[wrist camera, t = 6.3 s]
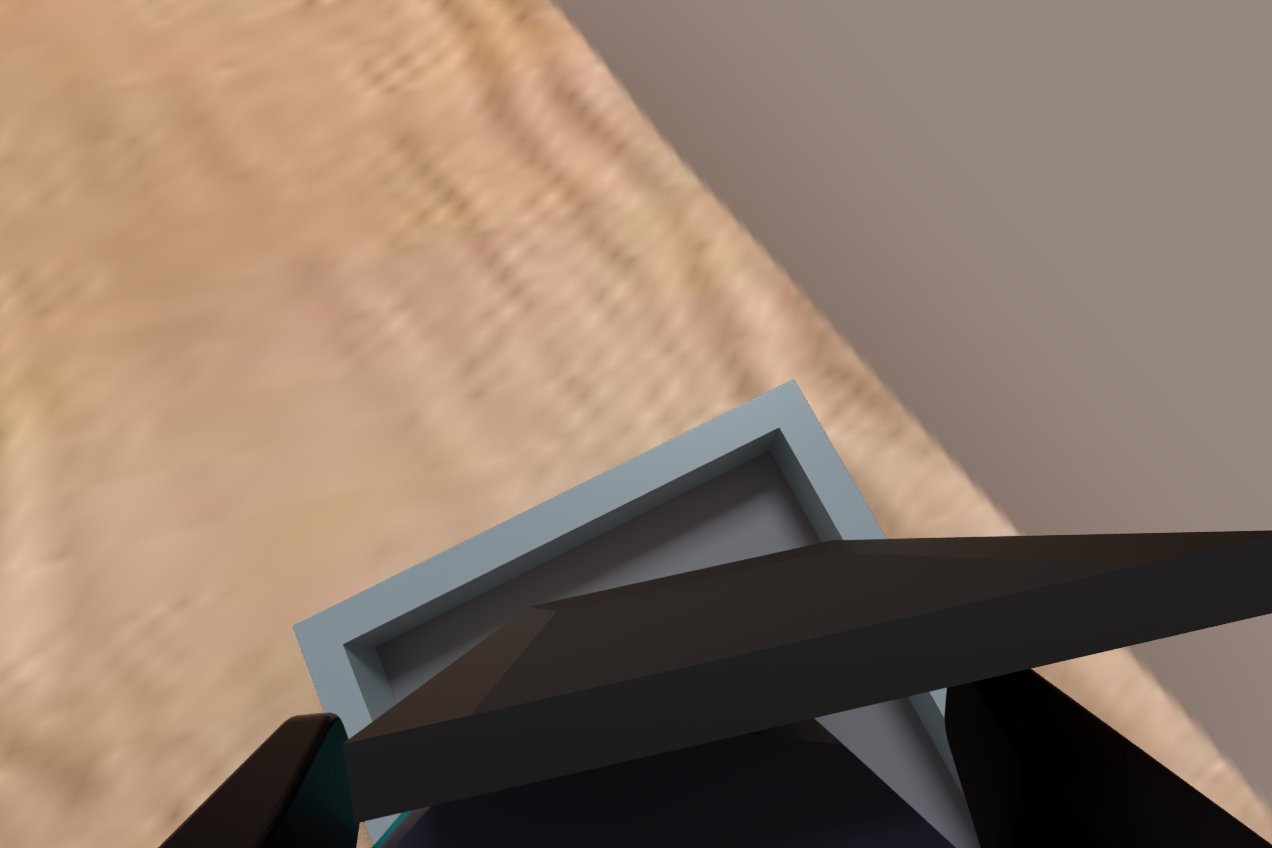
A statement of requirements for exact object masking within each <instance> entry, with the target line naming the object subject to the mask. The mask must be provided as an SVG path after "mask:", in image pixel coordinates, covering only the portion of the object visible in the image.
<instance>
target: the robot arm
mask: <svg viewBox="0 0 1272 848" xmlns="http://www.w3.org/2000/svg"><path fill="white" fill-rule="evenodd" d="M944 722H945V731H946V736H947V741H948V744H949V748H950V751H951V754H952V757H953V761H954V764H955V767H956V770H957V774H958V777H959V780H960V783H961V786H962V790H963V793H964V796H965V799H966V803H967V806H968V809H969V812H970V815H971V819H972V822H973V825H974V828H975V832H976V835H977V838H978V841H979V845H980V848H1272V844H1270V843H1269V842H1267V841H1266V840H1265V839H1263V838H1262V837H1261V836H1259V835H1258V834H1256V833H1255V832H1254V831H1252V830H1251V829H1250V828H1248V827H1247V826H1246V825H1244V824H1243V823H1241V822H1240V821H1239V820H1237V819H1236V818H1235V817H1233V816H1232V815H1231V814H1229V813H1228V812H1226V811H1225V810H1224V809H1222V808H1221V807H1220V806H1218V805H1217V804H1215V803H1214V802H1213V801H1211V800H1210V799H1209V798H1207V797H1206V796H1205V795H1203V794H1202V793H1200V792H1199V791H1198V790H1196V789H1195V788H1194V787H1192V786H1191V785H1189V784H1188V783H1187V782H1185V781H1184V780H1183V779H1181V778H1180V777H1179V776H1177V775H1176V774H1174V773H1173V772H1172V771H1170V770H1169V769H1168V768H1166V767H1165V766H1164V765H1162V764H1161V763H1159V762H1158V761H1157V760H1155V759H1154V758H1153V757H1151V756H1150V755H1148V754H1147V753H1146V752H1144V751H1143V750H1142V749H1140V748H1139V747H1138V746H1136V745H1135V744H1133V743H1132V742H1131V741H1129V740H1128V739H1127V738H1125V737H1124V736H1123V735H1121V734H1120V733H1118V732H1117V731H1116V730H1114V729H1113V728H1112V727H1110V726H1109V725H1107V724H1106V723H1105V722H1103V721H1102V720H1101V719H1099V718H1098V717H1097V716H1095V715H1094V714H1092V713H1091V712H1090V711H1088V710H1087V709H1086V708H1084V707H1083V706H1081V705H1080V704H1079V703H1077V702H1076V701H1075V700H1073V699H1072V698H1071V697H1069V696H1068V695H1066V694H1065V693H1064V692H1062V691H1061V690H1060V689H1058V688H1057V687H1056V686H1054V685H1053V684H1051V683H1050V682H1049V681H1047V680H1046V679H1045V678H1043V677H1042V676H1040V675H1039V674H1038V673H1036V672H1035V671H1034V670H1032V669H1026V670H1022V671H1018V672H1013V673H1009V674H1005V675H1000V676H996V677H991V678H987V679H983V680H978V681H974V682H970V683H965V684H961V685H957V686H952V687H948V688H947V690H946V701H945V713H944ZM348 739H349V738H348V735H347V732H346V730H345V727H344V724H343V722H342V720H341V719H340V717H339V716H338V715H336V714H335V713H330V712H326V713H317V714H307V715H297V716H294V717H291V718H289V719H288V720H286V721H285V722H284V723H283V724H282V725H281V726H280V727H279V728H278V729H277V730H276V731H275V732H274V733H273V734H272V735H271V736H270V737H269V738H268V739H267V740H266V741H265V742H264V743H263V744H262V745H261V746H260V747H259V748H258V749H257V750H256V751H255V752H254V753H253V754H252V755H251V756H250V757H249V758H248V759H247V760H246V761H245V762H244V763H243V764H242V765H241V766H240V767H239V768H238V769H237V770H235V771H234V772H233V773H232V774H231V775H230V776H229V777H228V778H227V779H226V780H225V781H224V782H223V783H222V784H221V785H220V786H219V787H218V788H217V789H216V790H215V791H214V792H213V793H212V794H211V795H210V796H209V797H208V798H207V799H206V800H205V801H204V802H203V803H202V804H201V805H200V806H199V807H198V808H197V809H196V810H195V811H194V812H193V813H192V814H191V815H190V816H189V817H188V818H187V819H186V820H185V821H184V822H183V823H182V824H181V825H180V826H179V827H178V828H177V829H176V830H175V831H174V832H173V833H172V834H171V835H170V836H169V837H168V838H167V839H166V840H165V841H164V842H163V843H162V844H161V845H160V846H159V847H158V848H356V845H357V838H358V831H359V824H360V823H355V819H354V813H353V807H352V801H351V795H350V788H349V782H348V776H347V770H346V764H345V758H344V752H343V746H342V744H343V743H344V742H346V741H347V740H348Z"/></svg>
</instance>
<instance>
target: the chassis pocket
mask: <svg viewBox="0 0 1272 848" xmlns="http://www.w3.org/2000/svg"><path fill="white" fill-rule="evenodd" d="M864 539H887V538H886V536H885V534H884V532H883V531H882V529H881V527H880V525H879V524H878V522H877V520H876V519H875V517H874V515H873V513H872V512H871V510H870V508H869V507H868V505H867V503H866V501H865V500H864V498H863V496H862V495H861V493H860V491H859V489H858V488H857V486H856V484H855V483H854V481H853V479H852V477H851V476H850V474H849V472H848V471H847V469H846V467H845V465H844V464H843V462H842V460H841V459H840V457H839V455H838V453H837V452H836V450H835V448H834V446H833V445H832V443H831V441H830V440H829V438H828V436H827V434H826V433H825V431H824V429H823V428H822V426H821V424H820V422H819V421H818V419H817V417H816V416H815V414H814V412H813V410H812V409H811V407H810V405H809V404H808V402H807V400H806V398H805V397H804V395H803V393H802V392H801V390H800V388H799V386H798V385H797V383H796V381H795V380H794V379H793V380H791V381H789V382H787V383H785V384H783V385H781V386H779V387H777V388H775V389H773V390H771V391H768V392H766V393H764V394H762V395H760V396H758V397H756V398H754V399H752V400H750V401H748V402H746V403H744V404H742V405H740V406H738V407H736V408H734V409H732V410H730V411H728V412H726V413H724V414H722V415H720V416H718V417H716V418H714V419H712V420H710V421H708V422H706V423H704V424H702V425H699V426H697V427H695V428H693V429H691V430H689V431H687V432H685V433H683V434H681V435H679V436H677V437H675V438H673V439H671V440H669V441H667V442H665V443H663V444H661V445H659V446H657V447H655V448H653V449H651V450H649V451H647V452H645V453H643V454H641V455H639V456H637V457H635V458H632V459H630V460H628V461H626V462H624V463H622V464H620V465H618V466H616V467H614V468H612V469H610V470H608V471H606V472H604V473H602V474H600V475H598V476H596V477H594V478H592V479H590V480H588V481H586V482H584V483H582V484H580V485H578V486H576V487H574V488H572V489H570V490H568V491H565V492H563V493H561V494H559V495H557V496H555V497H553V498H551V499H549V500H547V501H545V502H543V503H541V504H539V505H537V506H535V507H533V508H531V509H529V510H527V511H525V512H523V513H521V514H519V515H517V516H515V517H513V518H511V519H509V520H507V521H505V522H503V523H501V524H498V525H496V526H494V527H492V528H490V529H488V530H486V531H484V532H482V533H480V534H478V535H476V536H474V537H472V538H470V539H468V540H466V541H464V542H462V543H460V544H458V545H456V546H454V547H452V548H450V549H448V550H446V551H444V552H442V553H440V554H438V555H436V556H434V557H431V558H429V559H427V560H425V561H423V562H421V563H419V564H417V565H415V566H413V567H411V568H409V569H407V570H405V571H403V572H401V573H399V574H397V575H395V576H393V577H391V578H389V579H387V580H385V581H383V582H381V583H379V584H377V585H375V586H373V587H371V588H369V589H367V590H365V591H362V592H360V593H358V594H356V595H354V596H352V597H350V598H348V599H346V600H344V601H342V602H340V603H338V604H336V605H334V606H332V607H330V608H328V609H326V610H324V611H322V612H320V613H318V614H316V615H314V616H312V617H310V618H308V619H306V620H304V621H302V622H300V623H298V624H295V625H293V629H294V632H295V634H296V637H297V640H298V642H299V645H300V648H301V651H302V653H303V656H304V659H305V661H306V664H307V667H308V669H309V672H310V675H311V678H312V680H313V683H314V686H315V688H316V691H317V694H318V696H319V699H320V702H321V705H322V707H323V710H324V713H326V712H330V713H335V714H336V715H338V716H339V717H340V719H341V720H342V722H343V724H344V727H345V730H346V732H347V735H348V738H349V739H350V738H351V737H352V736H354V735H355V734H357V733H358V732H359V731H361V730H362V729H363V728H365V727H366V726H367V725H369V724H370V723H371V722H373V721H374V720H376V719H377V718H378V717H380V716H381V715H382V714H384V713H385V712H386V711H388V710H389V709H390V708H392V707H393V706H395V705H396V704H397V703H399V702H400V701H401V700H403V699H404V698H405V697H407V696H408V695H409V694H411V693H412V692H414V691H415V690H416V689H418V688H419V687H420V686H422V685H423V684H424V683H426V682H427V681H428V680H430V679H431V678H432V677H434V676H435V675H437V674H438V673H439V672H441V671H442V670H443V669H445V668H446V667H447V666H449V665H450V664H451V663H453V662H454V661H456V660H457V659H458V658H460V657H461V656H462V655H464V654H465V653H466V652H468V651H469V650H470V649H472V648H473V647H475V646H476V645H477V644H479V643H480V642H481V641H483V640H484V639H485V638H487V637H488V636H489V635H491V634H492V633H494V632H495V631H496V630H498V629H499V628H500V627H502V626H503V625H504V624H506V623H507V622H508V621H510V620H511V619H513V618H514V617H515V616H517V615H518V614H519V613H521V612H522V611H523V610H525V609H526V608H527V607H529V606H534V605H538V604H543V603H547V602H552V601H557V600H561V599H566V598H570V597H575V596H580V595H584V594H589V593H593V592H598V591H602V590H607V589H612V588H616V587H621V586H625V585H630V584H634V583H639V582H644V581H648V580H653V579H657V578H662V577H667V576H671V575H676V574H680V573H685V572H689V571H694V570H699V569H703V568H708V567H712V566H717V565H721V564H726V563H731V562H735V561H740V560H744V559H749V558H753V557H758V556H763V555H767V554H772V553H776V552H781V551H786V550H790V549H795V548H799V547H804V546H808V545H813V544H818V543H822V542H827V541H831V540H864ZM946 690H947V688H944V689H939V690H935V691H930V692H926V693H922V694H917V695H913V696H909V697H904V698H900V699H896V700H891V701H887V702H883V703H878V704H874V705H869V706H865V707H861V708H856V709H852V710H848V711H843V712H839V713H835V714H830V715H826V716H822V717H817V718H815V719H816V720H817V721H818V722H819V723H820V724H821V725H822V726H824V727H825V728H826V729H827V730H828V731H829V732H830V733H831V734H832V735H834V736H835V737H836V738H837V739H838V740H839V741H840V742H841V743H842V744H844V745H845V746H846V747H847V748H848V749H849V750H850V751H851V752H852V753H853V754H855V755H856V756H857V757H858V758H859V759H860V760H861V761H862V762H863V763H864V764H865V765H867V766H868V767H869V768H870V769H871V770H872V771H873V772H874V773H875V774H876V775H877V776H878V777H880V778H881V779H882V780H883V781H884V782H885V783H886V784H887V785H888V786H889V787H890V788H892V789H893V790H894V791H895V792H896V793H897V794H898V795H899V796H900V797H901V798H902V799H904V800H905V801H906V802H907V803H908V804H909V805H910V806H911V807H912V808H913V809H914V810H916V811H917V812H918V813H919V814H920V815H921V816H922V817H923V818H924V819H925V820H926V821H928V822H929V823H930V824H931V825H932V826H933V827H934V828H935V829H936V830H937V831H938V832H940V833H941V834H942V835H943V836H944V837H945V838H946V839H947V840H948V841H949V842H950V843H952V844H953V845H954V846H955V847H956V848H980V845H979V841H978V838H977V835H976V832H975V828H974V825H973V822H972V819H971V815H970V812H969V809H968V806H967V803H966V799H965V796H964V793H963V790H962V786H961V783H960V780H959V777H958V774H957V770H956V767H955V764H954V761H953V757H952V754H951V751H950V748H949V744H948V741H947V736H946V731H945V722H944V713H945V701H946ZM400 814H401V813H399V814H395V815H390V816H386V817H382V818H377V819H373V820H368V821H365V823H366V826H367V829H368V832H369V834H370V837H371V840H372V842H373V845H374V844H375V843H376V842H377V841H378V840H379V839H380V837H381V836H382V835H383V834H384V833H385V832H386V830H387V829H388V828H389V827H390V826H391V825H392V823H393V822H394V821H395V820H396V819H397V818H398V816H399V815H400Z"/></svg>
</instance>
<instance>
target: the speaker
mask: <svg viewBox="0 0 1272 848" xmlns="http://www.w3.org/2000/svg"><path fill="white" fill-rule="evenodd" d="M1270 613H1272V531H1230V532H1229V531H1227V532H1185V533H1184V532H1182V533H1140V534H1139V533H1137V534H1091V535H1051V536H1050V535H1046V536H1000V537H955V538H909V539H864V540H831V541H827V542H822V543H818V544H813V545H808V546H804V547H799V548H795V549H790V550H786V551H781V552H776V553H772V554H767V555H763V556H758V557H753V558H749V559H744V560H740V561H735V562H731V563H726V564H721V565H717V566H712V567H708V568H703V569H699V570H694V571H689V572H685V573H680V574H676V575H671V576H667V577H662V578H657V579H653V580H648V581H644V582H639V583H634V584H630V585H625V586H621V587H616V588H612V589H607V590H602V591H598V592H593V593H589V594H584V595H580V596H575V597H570V598H566V599H561V600H557V601H552V602H547V603H543V604H538V605H534V606H529V607H527V608H526V609H525V610H523V611H522V612H521V613H519V614H518V615H517V616H515V617H514V618H513V619H511V620H510V621H508V622H507V623H506V624H504V625H503V626H502V627H500V628H499V629H498V630H496V631H495V632H494V633H492V634H491V635H489V636H488V637H487V638H485V639H484V640H483V641H481V642H480V643H479V644H477V645H476V646H475V647H473V648H472V649H470V650H469V651H468V652H466V653H465V654H464V655H462V656H461V657H460V658H458V659H457V660H456V661H454V662H453V663H451V664H450V665H449V666H447V667H446V668H445V669H443V670H442V671H441V672H439V673H438V674H437V675H435V676H434V677H432V678H431V679H430V680H428V681H427V682H426V683H424V684H423V685H422V686H420V687H419V688H418V689H416V690H415V691H414V692H412V693H411V694H409V695H408V696H407V697H405V698H404V699H403V700H401V701H400V702H399V703H397V704H396V705H395V706H393V707H392V708H390V709H389V710H388V711H386V712H385V713H384V714H382V715H381V716H380V717H378V718H377V719H376V720H374V721H373V722H371V723H370V724H369V725H367V726H366V727H365V728H363V729H362V730H361V731H359V732H358V733H357V734H355V735H354V736H352V737H351V738H350V739H348V740H347V741H346V742H344V743H343V744H342V746H343V752H344V758H345V764H346V770H347V776H348V782H349V788H350V795H351V801H352V807H353V813H354V819H355V823H360V822H364V821H368V820H373V819H377V818H382V817H386V816H390V815H395V814H399V813H401V814H400V815H399V816H398V818H397V819H396V820H395V821H394V822H393V823H392V825H391V826H390V827H389V828H388V829H387V830H386V832H385V833H384V834H383V835H382V836H381V837H380V839H379V840H378V841H377V842H376V843H375V844H374V846H373V847H372V848H956V847H955V846H954V845H953V844H952V843H950V842H949V841H948V840H947V839H946V838H945V837H944V836H943V835H942V834H941V833H940V832H938V831H937V830H936V829H935V828H934V827H933V826H932V825H931V824H930V823H929V822H928V821H926V820H925V819H924V818H923V817H922V816H921V815H920V814H919V813H918V812H917V811H916V810H914V809H913V808H912V807H911V806H910V805H909V804H908V803H907V802H906V801H905V800H904V799H902V798H901V797H900V796H899V795H898V794H897V793H896V792H895V791H894V790H893V789H892V788H890V787H889V786H888V785H887V784H886V783H885V782H884V781H883V780H882V779H881V778H880V777H878V776H877V775H876V774H875V773H874V772H873V771H872V770H871V769H870V768H869V767H868V766H867V765H865V764H864V763H863V762H862V761H861V760H860V759H859V758H858V757H857V756H856V755H855V754H853V753H852V752H851V751H850V750H849V749H848V748H847V747H846V746H845V745H844V744H842V743H841V742H840V741H839V740H838V739H837V738H836V737H835V736H834V735H832V734H831V733H830V732H829V731H828V730H827V729H826V728H825V727H824V726H822V725H821V724H820V723H819V722H818V721H817V720H816V719H815V718H817V717H822V716H826V715H830V714H835V713H839V712H843V711H848V710H852V709H856V708H861V707H865V706H869V705H874V704H878V703H883V702H887V701H891V700H896V699H900V698H904V697H909V696H913V695H917V694H922V693H926V692H930V691H935V690H939V689H944V688H948V687H952V686H957V685H961V684H965V683H970V682H974V681H978V680H983V679H987V678H991V677H996V676H1000V675H1005V674H1009V673H1013V672H1018V671H1022V670H1026V669H1031V668H1035V667H1039V666H1044V665H1048V664H1052V663H1057V662H1061V661H1066V660H1070V659H1074V658H1079V657H1083V656H1087V655H1092V654H1096V653H1100V652H1105V651H1109V650H1113V649H1118V648H1122V647H1126V646H1131V645H1135V644H1139V643H1144V642H1148V641H1152V640H1156V639H1161V638H1166V637H1170V636H1174V635H1179V634H1183V633H1187V632H1192V631H1196V630H1200V629H1205V628H1209V627H1214V626H1218V625H1222V624H1227V623H1231V622H1235V621H1240V620H1244V619H1248V618H1252V617H1257V616H1261V615H1266V614H1270Z"/></svg>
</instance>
